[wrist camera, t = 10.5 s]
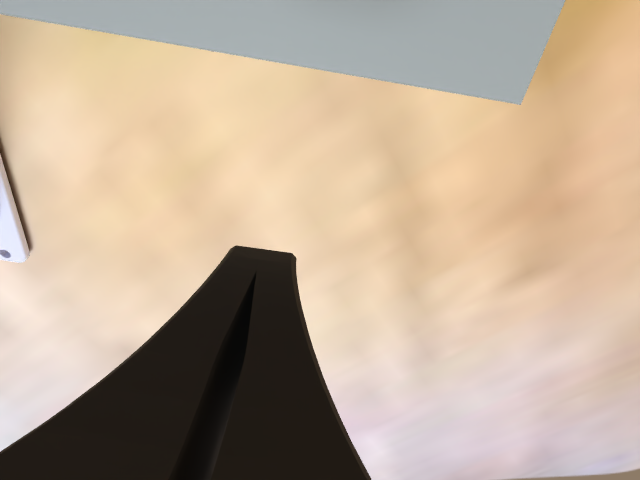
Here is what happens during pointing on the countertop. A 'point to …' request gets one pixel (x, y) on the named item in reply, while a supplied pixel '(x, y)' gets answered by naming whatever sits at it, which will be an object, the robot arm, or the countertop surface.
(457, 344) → the countertop surface
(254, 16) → the grey board with holes
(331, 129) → the countertop surface
